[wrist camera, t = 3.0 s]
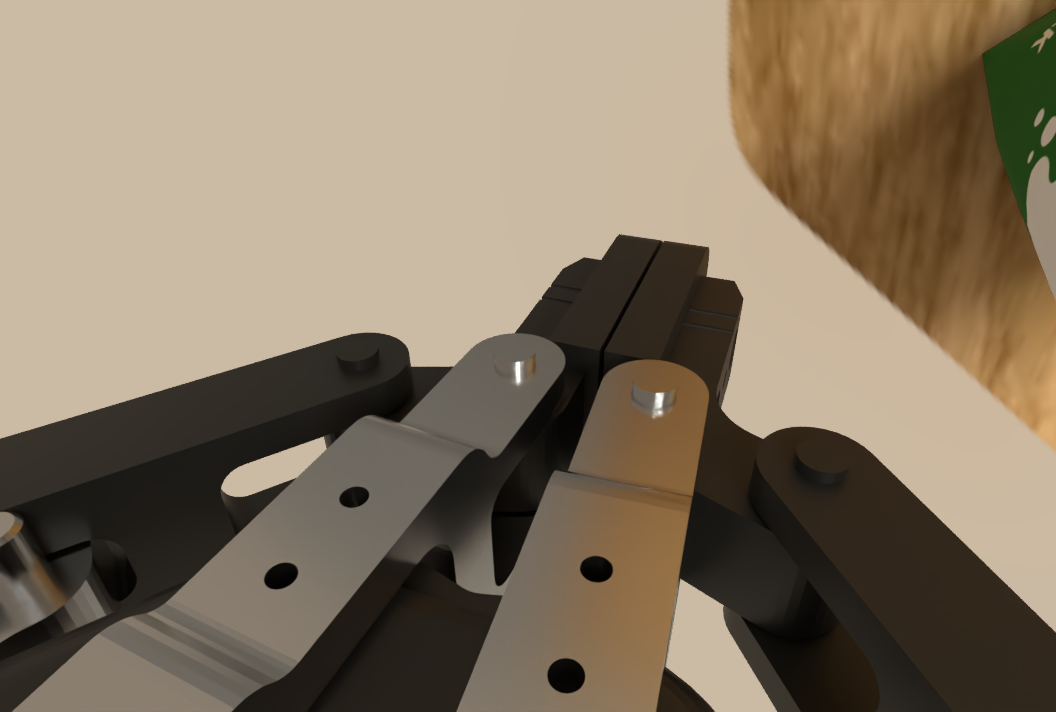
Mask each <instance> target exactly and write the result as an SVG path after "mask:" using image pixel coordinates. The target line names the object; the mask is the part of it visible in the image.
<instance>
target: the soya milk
mask: <svg viewBox="0 0 1056 712" xmlns="http://www.w3.org/2000/svg"><path fill="white" fill-rule="evenodd" d="M982 56H983V61H984V67H985V73H986V79H987V86H988V92H989V99H990V105H991V112H992V118H993V125H994V130H995V136H996V141H997V145H998V148H999V152H1000V155H1001V158H1002V161H1003V163H1004V166H1005V169H1006V172H1007V175H1008V178H1009V181H1010V184H1011V187H1012V190H1013V192H1014V195H1015V197H1016V200H1017V203H1018V205H1019V208H1020V211H1021V213H1022V216H1023V218H1024V221H1025V224H1026V226H1027V229H1028V231H1029V234H1030V237H1031V239H1032V242H1033V244H1034V247H1035V250H1036V252H1037V255H1038V257H1039V260H1040V263H1041V265H1042V268H1043V270H1044V273H1045V276H1046V278H1047V281H1048V283H1049V286H1050V289H1051V291H1052V293H1053V295H1054V297H1055V300H1056V9H1055V10H1053V11H1051V12H1050V13H1048V14H1046V15H1045V16H1043V17H1042V18H1040V19H1038V20H1037V21H1035V22H1033V23H1032V24H1030V25H1029V26H1027V27H1025V28H1024V29H1022V30H1020V31H1019V32H1017V33H1016V34H1014V35H1012V36H1011V37H1009V38H1007V39H1006V40H1004V41H1003V42H1001V43H999V44H998V45H996V46H995V47H993V48H991V49H990V50H988V51H986V52H985V53H983V54H982Z"/></svg>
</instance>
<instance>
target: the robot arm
mask: <svg viewBox="0 0 1056 712" xmlns="http://www.w3.org/2000/svg"><path fill="white" fill-rule="evenodd" d="M708 261H709V248H708V247H703V246H696V245H689V244H683V243H676V242H669V241H664V242H662V241H660V240H654V239H647V238H640V237H633V236H626V235H620V234H619V235H618V236H617V237H616V239H615V240H614V242H613V244H612V245H611V246H610V248H609V249H608V251H607V252H606V254H605V255H604V257H603V258H602V260H596V259H591V258H582V259H581V260H579V261H577V262H575V263H573V264H571V265H569V266H568V267H566V268H564V269H562V271H561V272H560V274H559V275H558V276H557V278H556V279H555V280H554V281H553V283H552V285H551V287H549V288H548V290H547V291H546V292H545V294H544V295H543V296H542V300H539V302H538V303H537V304H536V306H535V307H534V308H533V310H532V311H531V312H530V314H529V315H528V317H527V318H526V319H525V320H524V322H523V323H522V324H521V326H520V327H519V328H518V330H517V331H516V332H515V333H512V334H503V335H498V336H494V337H491V338H488V339H486V340H483V341H481V342H480V343H478V344H476V345H475V346H474V347H473V348H472V349H471V350H470V351H469V352H468V353H467V354H466V355H465V356H464V357H463V358H462V359H461V360H460V361H459V362H458V363H457V364H456V365H455V366H454V367H411V364H410V357H409V351H408V348H407V347H406V345H405V344H404V343H403V342H402V341H400V340H399V339H397V338H395V337H392V336H390V335H385V334H380V333H358V334H351V335H348V336H343V337H340V338H336V339H333V340H330V341H326V342H323V343H320V344H316V345H313V346H309V347H306V348H303V349H299V350H296V351H293V352H290V353H286V354H283V355H280V356H276V357H273V358H269V359H266V360H263V361H260V362H256V363H253V364H250V365H246V366H243V367H239V368H236V369H233V370H229V371H226V372H223V373H219V374H216V375H212V376H209V377H206V378H202V379H199V380H196V381H192V382H189V383H186V384H182V385H179V386H176V387H172V388H169V389H165V390H163V391H159V392H155V393H152V394H149V395H145V396H143V397H139V398H135V399H132V400H129V401H126V402H122V403H119V404H116V405H112V406H109V407H105V408H102V409H99V410H96V411H92V412H88V413H85V414H82V415H78V416H75V417H72V418H68V419H65V420H62V421H58V422H55V423H52V424H48V425H45V426H42V427H38V428H35V429H32V430H29V431H25V432H21V433H18V434H15V435H11V436H8V437H5V438H1V439H0V712H714V710H713V709H712V708H711V706H710V705H709V704H708V703H707V702H706V701H705V700H704V699H703V698H702V697H701V696H700V695H699V694H698V693H697V692H695V690H693V688H692V687H691V686H689V685H688V684H687V683H686V682H684V681H683V680H682V679H680V678H679V677H678V676H677V675H675V674H674V673H673V672H671V671H670V670H669V669H667V668H666V663H667V657H668V651H669V645H670V639H671V633H672V627H673V621H674V615H675V608H676V603H677V596H678V590H679V584H680V579H682V580H684V581H685V582H687V583H689V584H690V585H692V586H693V587H695V588H697V589H698V590H700V591H702V592H703V593H705V594H706V595H708V596H710V597H711V598H713V599H715V600H716V601H718V602H719V603H721V604H723V605H724V607H723V612H724V619H725V623H726V626H727V628H728V630H729V632H730V634H731V635H732V637H733V638H734V640H735V642H736V644H737V645H738V647H739V649H740V650H741V652H742V654H743V655H744V657H745V658H746V660H747V662H748V663H749V665H750V667H751V668H752V670H753V672H754V673H755V675H756V677H757V678H758V680H759V682H760V683H761V685H762V687H763V688H764V690H765V692H766V693H767V695H768V697H769V698H770V700H771V702H772V703H773V705H774V707H775V708H776V710H777V712H1056V632H1055V631H1054V630H1053V629H1052V628H1051V627H1049V626H1048V625H1047V624H1046V623H1045V622H1044V621H1043V620H1042V619H1041V618H1040V617H1039V616H1038V615H1037V614H1036V613H1035V612H1034V611H1033V610H1032V609H1031V608H1030V607H1029V606H1028V605H1027V604H1026V603H1025V602H1024V601H1023V600H1022V599H1021V598H1020V597H1019V596H1018V595H1017V594H1016V593H1015V592H1014V591H1013V590H1012V589H1011V588H1009V587H1008V586H1007V585H1006V584H1005V583H1004V582H1003V581H1002V580H1001V579H1000V578H999V577H998V576H997V575H996V574H995V573H994V572H993V571H992V570H991V569H990V568H989V567H988V566H987V565H986V564H985V563H984V562H983V561H982V560H981V559H980V558H979V557H978V556H977V555H976V554H975V553H973V551H972V550H971V549H969V548H968V547H967V546H966V545H965V544H964V543H963V542H962V541H961V540H960V539H959V538H958V537H957V536H956V535H955V534H954V533H953V532H952V531H951V530H950V529H949V528H948V527H947V526H946V525H945V524H944V523H943V522H942V521H941V520H940V519H939V518H938V517H937V516H936V515H935V514H934V513H933V512H931V511H930V510H929V509H928V508H927V507H926V506H925V505H924V504H923V503H922V502H921V501H920V500H919V499H918V498H917V497H916V496H915V495H914V494H913V493H912V492H911V491H910V490H909V489H908V488H907V487H906V486H905V485H904V484H903V483H902V482H901V481H900V480H899V479H898V478H897V477H896V476H895V475H893V473H892V472H891V471H889V470H888V469H887V468H886V467H885V466H884V465H883V464H882V463H881V462H880V461H879V460H878V459H877V458H876V457H875V456H874V455H873V454H872V453H871V452H870V451H868V450H867V449H866V448H865V447H864V446H862V445H860V444H859V443H857V442H856V441H854V440H852V439H850V438H848V437H846V436H843V435H841V434H839V433H836V432H833V431H829V430H825V429H820V428H815V427H791V428H785V429H781V430H778V431H776V432H774V433H772V434H770V435H769V436H767V437H766V438H764V439H762V438H760V437H757V436H755V435H753V434H751V433H749V432H747V431H745V430H744V429H742V428H741V427H739V426H738V425H736V424H735V423H734V422H732V421H731V420H730V419H729V418H728V417H727V416H726V415H725V413H724V412H723V411H722V409H721V406H722V402H723V399H724V394H725V392H726V388H727V384H728V381H729V377H730V373H731V367H732V361H733V356H734V349H735V344H736V338H737V333H738V326H739V321H740V315H741V310H742V304H743V297H742V295H741V293H740V291H739V289H738V287H737V285H736V283H735V281H730V280H724V279H717V278H710V277H706V275H707V268H708ZM323 436H324V439H325V443H326V448H327V449H326V450H325V451H324V452H323V453H322V454H321V455H320V456H319V457H318V458H317V459H316V460H315V461H314V462H313V463H312V464H311V465H310V466H309V467H308V468H307V469H306V470H305V471H303V472H302V473H301V474H300V475H299V476H298V477H297V478H295V479H293V480H290V481H287V482H284V483H282V484H279V485H276V486H274V487H271V488H268V489H266V490H263V491H260V492H258V493H255V494H252V495H249V496H245V497H233V496H229V495H227V494H225V493H224V492H223V491H222V490H221V486H222V483H223V481H224V479H225V478H226V477H227V475H228V474H229V473H230V472H231V471H233V470H234V469H236V468H237V467H239V466H242V465H244V464H247V463H250V462H253V461H255V460H258V459H261V458H264V457H266V456H270V455H272V454H275V453H278V452H281V451H283V450H287V449H289V448H292V447H295V446H298V445H300V444H304V443H306V442H309V441H312V440H315V439H318V438H320V437H323Z"/></svg>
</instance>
